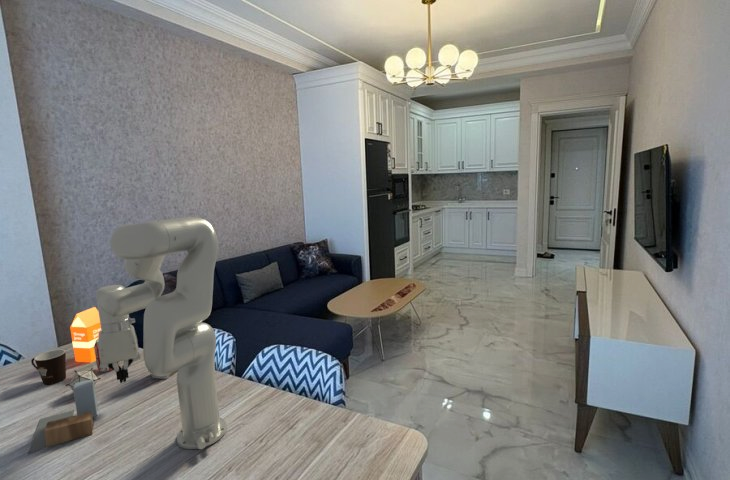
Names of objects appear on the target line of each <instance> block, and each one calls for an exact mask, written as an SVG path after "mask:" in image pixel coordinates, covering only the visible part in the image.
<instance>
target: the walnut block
mask: <svg viewBox="0 0 730 480" xmlns="http://www.w3.org/2000/svg"><path fill="white" fill-rule="evenodd" d="M93 419H94V417H93V416H92V412H88V413H84V414H79V415H77V414H76V415H73V416H71V417H67V418H63V419H59V420H54V421H50V422H47V425H46V428H45V431H44V432H45V442H46V447H47V446H51V445H54V444H58V443H61V444H63V443H62V442H64V443H67V442H70V441H72V440H76V439H81V438H84V437H88V436H92V435H93V431H94V420H93ZM58 445H59V444H58ZM54 446H55V445H54ZM51 447H52V446H51Z"/></svg>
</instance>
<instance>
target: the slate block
mask: <svg viewBox="0 0 730 480" xmlns="http://www.w3.org/2000/svg"><path fill="white" fill-rule="evenodd" d="M72 392H73V397H74V398H73V399H74V403H75V410H76V415H79V414H84V413H88V412H92V416H93V418H94V417H97V416H98V409H99V407H98V401H97V394H96V389H95V386H94V381H93V379H91V380H86V381H82V382H78V383H75V385H74V389H73V390H72Z"/></svg>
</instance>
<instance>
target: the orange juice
mask: <svg viewBox="0 0 730 480" xmlns="http://www.w3.org/2000/svg"><path fill="white" fill-rule="evenodd" d="M69 328H70V329H69V330H70V335H71V341H72V342H71V343H72V348H73V354H74V360H75V362H77V363H78V362H79V363H93V362H96V357H95V350H94V345H95V343H96V342H95V341H96V340H97V339H98V336H99V332H100V331H101V326H100V319H99V312H98V308H97V307H96V306H94V307H91V308H88V309H85V310H83V311H81V312H78V313H76V314H75V317H74V319H73V321H72V323H71V324H70V327H69Z"/></svg>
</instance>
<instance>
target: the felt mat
mask: <svg viewBox="0 0 730 480" xmlns="http://www.w3.org/2000/svg"><path fill="white" fill-rule="evenodd" d="M74 413H75V410H74V409H72V410H69V411H66V412H61V413H57V414H55V415H49V416H48V417H46V416H45V417H44V418H43V417H42V418H40V419H39V423H38V424H37V428H36V430H35V433H34V435H33V439H32V440H31V443H30V445H29V448H28V451H27V454H31V453H35V452H37V451H40V450H44V449H47V448H50V447H54V446H57V445H61V444H64V443H65V442H62V443H58V444H54V445H51V446H47V447H46V442H45V432H44V431H45V428H46V425H47V422H50V421H54V420H59V419H63V418H67V417H71V416H74Z"/></svg>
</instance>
